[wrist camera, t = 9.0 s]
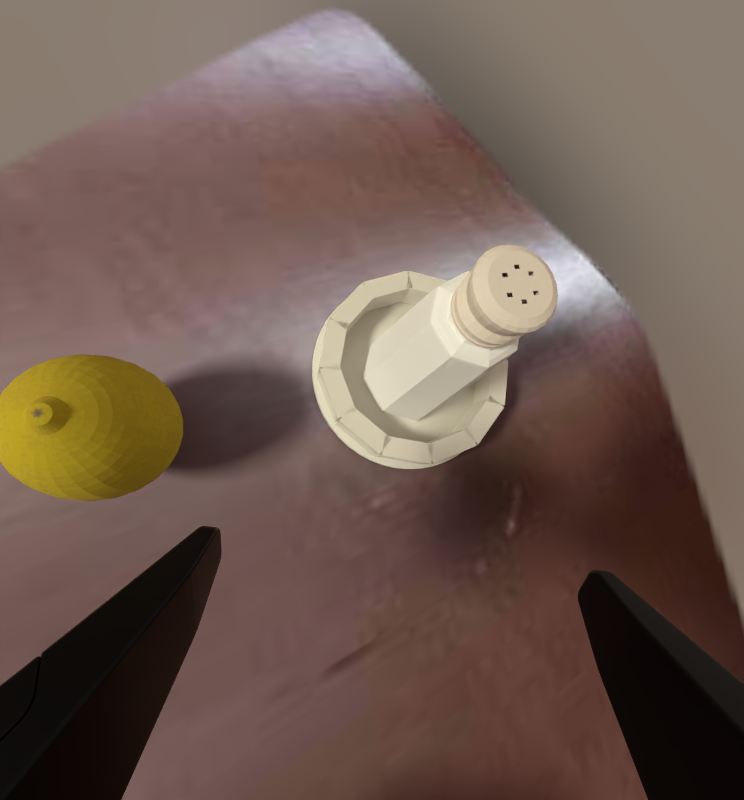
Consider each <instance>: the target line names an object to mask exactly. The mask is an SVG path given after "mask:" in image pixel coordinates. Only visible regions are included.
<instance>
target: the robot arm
mask: <svg viewBox="0 0 744 800" xmlns="http://www.w3.org/2000/svg"><path fill="white" fill-rule="evenodd" d="M220 559H221V534H220V530H219V528H217V527H209V526H201V527H199V528H198V529H197V530H195V531H194V532H193V533H192V534H190V535H189V536H188V537H187V538H185V539H184V540H183V541H182V542H180V543H179V544H178V545H177V546H175V547H174V548H173V549H172V550H170V551H169V552H168V553H167V554H165V555H164V556H163V557H162V558H160V559H159V560H158V561H156V562H155V563H154V564H153V565H151V566H150V567H149V568H148V569H146V570H145V571H144V572H143V573H141V574H140V575H139V576H138V577H136V578H135V579H134V580H133V581H131V582H130V583H129V584H128V585H126V586H125V587H124V588H123V589H121V590H120V591H119V592H118V593H116V594H115V595H114V596H113V597H111V598H110V599H109V600H108V601H106V602H105V603H104V604H103V605H101V606H100V607H99V608H98V609H96V610H95V611H94V612H93V613H91V614H90V615H89V616H88V617H86V618H85V619H84V620H83V621H81V622H80V623H79V624H78V625H76V626H75V627H74V628H73V629H71V630H70V631H69V632H68V633H66V634H65V635H64V636H63V637H61V638H60V639H59V640H57V641H56V642H55V643H54V644H52V645H51V646H50V647H49V648H47V649H46V650H45V651H44V652H43V653H42V654H41V657H39V656H38V657H36V658H35V659H33V660H32V661H31V662H30V663H28V664H27V665H26V666H25V667H23V668H22V669H21V670H20V671H18V672H17V673H16V674H15V675H13V676H12V677H11V678H9V679H8V680H7V681H6V682H4V683H3V684H2V685H0V800H121V799H122V797H123V794H124V792H125V790H126V788H127V786H128V783H129V781H130V779H131V777H132V774H133V772H134V770H135V768H136V766H137V763H138V761H139V759H140V757H141V754H142V752H143V750H144V748H145V746H146V743H147V741H148V739H149V737H150V734H151V732H152V730H153V728H154V725H155V723H156V721H157V719H158V717H159V714H160V712H161V710H162V708H163V705H164V703H165V701H166V699H167V697H168V694H169V692H170V690H171V688H172V685H173V683H174V681H175V679H176V677H177V674H178V672H179V670H180V668H181V665H182V663H183V661H184V659H185V656H186V654H187V652H188V650H189V648H190V645H191V643H192V641H193V638H194V636H195V634H196V631H197V629H198V626H199V623H200V620H201V617H202V614H203V611H204V608H205V605H206V602H207V599H208V596H209V593H210V590H211V587H212V584H213V581H214V578H215V575H216V572H217V569H218V566H219V563H220ZM578 601H579V605H580V609H581V612H582V616H583V619H584V623H585V626H586V630H587V633H588V637H589V640H590V644H591V647H592V651H593V654H594V657H595V661H596V664H597V667H598V670H599V673H600V676H601V678H602V681H603V684H604V686H605V689H606V692H607V694H608V697H609V699H610V702H611V704H612V707H613V710H614V712H615V715H616V717H617V720H618V723H619V725H620V728H621V730H622V733H623V736H624V738H625V741H626V743H627V746H628V749H629V751H630V754H631V756H632V759H633V762H634V764H635V767H636V769H637V772H638V775H639V777H640V780H641V782H642V785H643V788H644V790H645V793H646V795H647V798H648V800H744V684H743V683H742V682H741V681H740V680H738V679H737V678H736V677H735V676H734V675H733V674H731V673H730V672H729V671H728V670H727V669H725V668H724V667H723V666H722V665H721V664H719V663H718V662H717V661H716V660H715V659H713V658H712V657H711V656H710V655H709V654H707V653H706V652H705V651H704V650H703V649H702V648H700V647H699V646H698V645H697V644H696V643H694V642H693V641H692V640H691V639H690V638H688V637H687V636H686V635H685V634H684V633H682V632H681V631H680V630H679V629H678V628H676V627H675V626H674V625H673V624H672V623H671V622H669V621H668V620H667V619H666V618H665V617H663V616H662V615H661V614H660V613H659V612H657V611H656V610H655V609H654V608H653V607H651V606H650V605H649V604H648V603H647V602H646V601H644V600H643V599H642V598H641V597H640V596H638V595H637V594H636V593H635V592H634V591H632V590H631V589H630V588H629V587H628V586H626V585H625V584H624V583H623V582H622V581H620V580H619V579H618V578H617V577H616V576H615V575H613V574H612V573H610V572H606V571H598V570H593V571H591V572H590V573H589V575H588V576H587V578H586V580H585V581H584V583H583V585H582V586H581V588H580V590H579V592H578Z"/></svg>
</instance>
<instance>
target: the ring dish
mask: <svg viewBox="0 0 744 800" xmlns="http://www.w3.org/2000/svg"><path fill="white" fill-rule="evenodd" d="M445 282H447V281H446V280H442V279H438V278H434V277H430V276H427V275H423V274H419V273H415V272H411V271H409V272H408V273H407V271H404V272H400V273H396V274H392V275H389V276H385V277H381V278H377V279H373V280H369V281H365V282H363V284H362V283H361V284H360V285H359V286H358V287H357V288H356V289H355V290H354V291H353V293H352V294H351V295H350V296H349V297H348V298H347V299H346V300H345V301H344V302H343V303H341V304H340V305H339V306H338V307H337V308H336V309H335V310H334V312H333V313H332V314H331V315H330V316H329V318H328V319H327V321H326V323H325V324H324V326H323V328H322V330H321V332H320V334H319V337H318V339H317V343H316V346H315V350H314V354H313V362H312V382H313V389H314V394H315V397H316V401H317V404H318V406H319V409H320V411H321V413H322V415H323V417H324V419H325V421H326V422H327V424H328V426H329V427H330V428H331V430H332V431H333V432H334V433H335V435H336V436H337V437H338V438H339V439H340V440H341V441H342V442H343V443H344V444H345V445H346V446H347V447H349V448H350V449H351V450H353V451H354V452H355V453H357V454H358V455H360V456H362V457H364V458H366V459H367V460H369V461H372V462H374V463H377V464H380V465H383V466H387V467H392V468H400V469H421V468H426V467H432V466H435V465H438V464H441V463H444V462H446V461H448V460H450V459H452V458H454V457H456V456H457V455H459V454H460V453H462V452H463V451H465V450H467V449H470V448H472V447H475V446H477V445H476V444H479V443H480V441H481V440H482V438H483V437H484V436H485V434H486V433H487V431H488V430H489V428H490V427H491V425H492V424H493V423H494V421H495V420H496V418H497V417H498V415H499V414H500V413H501V411H502V410H503V408H504V407H503V406H504V405H505V397H506V385H507V373H508V360H504V361H503V362H502V363H500V364H499V365H497V366H496V367H495V368H493V369H492V370H491V371H489V372H488V373H486V374H485V375H484V376H482V377H481V378H480V379H478V380H477V381H475V382H474V383H473V384H471V385H470V386H469V387H467V388H466V389H464V390H463V391H462V392H460V393H459V394H457V395H456V396H455V397H453V398H452V399H451V400H449V401H448V402H446V403H445V404H443V405H442V406H440V407H439V408H437V409H435V410H434V411H432V412H431V413H429V414H427V415H426V416H424V417H423V418H421V419H419V420H418V421H415V420H411V419H407V418H404V417H400V416H396V415H392V414H389V413H385V412H382V411H381V410H380V408H379V406H378V405H377V403H376V401H375V400H374V398H373V396H372V395H371V393H370V391H369V390H368V388H367V386H366V385H365V383H364V381H363V380H362V378H363V374H364V370H365V366H366V362H367V358H368V354H369V349H370V345H371V344H372V343H373V342H374V341H376V340H377V339H378V338H379V337H380V336H381V335H382V334H383V333H385V332H386V331H387V330H388V329H389V328H390V327H391V326H392V325H394V324H395V323H396V322H397V321H398V320H399V319H400V318H401V317H403V316H404V315H405V314H406V313H407V312H408V311H409V310H410V309H412V308H413V307H414V306H415V305H416V304H417V303H418V302H419V301H421V300H422V299H423V298H424V297H425V296H426V295H427V294H429V293H430V292H431V291H433V290H434V289H435V288H437V287H438V286H440V285H441V284H443V283H445Z"/></svg>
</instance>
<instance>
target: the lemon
mask: <svg viewBox="0 0 744 800" xmlns="http://www.w3.org/2000/svg"><path fill="white" fill-rule="evenodd" d="M182 437H183V418H182V414H181V410H180V406H179V404H178V402H177V401H176V399H175V397H174V396H173V394H172V392H171V391H170V389H169V388H168V387H167V386H166V385H165V384H164V383H163V382H162V381H160V380H159V379H158V378H157V377H156V376H155V375H153V374H152V373H150V372H148V371H146V370H145V369H143V368H141V367H139V366H137V365H135V364H133V363H130V362H126V361H123V360H120V359H116V358H113V357H108V356H97V355H72V356H66V357H60V358H54V359H51V360H48V361H46V362H43V363H40V364H38V365H35V366H33V367H32V368H30V369H29V370H27V371H25V372H24V373H22V374H21V375H19V376H18V377H16V378H15V379H14V380H13V381H12V382H11V383H10V384H9V385H8V386H7V387H6V389H5V390H4V391H3V392H2V394H1V395H0V462H1V463H2V464H3V466H4V467H5V468H6V469H7V471H8V472H9V473H10V474H11V475H12V476H14V477H15V478H17V479H18V480H20V481H21V482H22V483H24V484H25V485H27V486H28V487H30V488H32V489H35V490H38V491H41V492H43V493H46V494H49V495H52V496H55V497H58V498H63V499H72V500H82V501H95V500H103V499H111V498H116V497H120V496H123V495H125V494H128V493H131V492H134V491H136V490H139V489H141V488H142V487H144V486H145V485H147V484H149V483H150V482H152V481H153V480H155V479H156V478H158V477H159V476H160V475H161V474H162V473H163V472H164V471H165V470H166V469H167V468H168V467H169V466H170V464H171V463H172V461H173V459H174V458H175V456H176V454H177V453H178V451H179V447H180V444H181V441H182Z"/></svg>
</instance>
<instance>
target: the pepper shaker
mask: <svg viewBox="0 0 744 800" xmlns="http://www.w3.org/2000/svg"><path fill="white" fill-rule="evenodd" d="M557 297H558V293H557V285H556V281H555V279H554V276H553V273H552V272H551V270H550V269H549V267H548V265H547V264H546V263H545V262H544V261H543V260H542V259H541V258H540V257H539V256H538V255H537V254H535V253H533V252H532V251H530V250H528V249H526V248H523V247H520V246H514V245H501V246H496V247H494V248H492V249H490V250H488V251H486V252H485V253H484V254H483V255H482V256H481V257H480V258H479V259H478V261H477V262H476V264H475V266H474V268H473V269H472V270H471V271H467V272H465V273H463V274H461V275H459V276H457V277H455V278H453V279H451V280H449V281H447V282H445V283H443V284H441V285H440V286H438V287H437V288H435V289H434V290H433V291H431V292H430V293H429V294H427V295H426V296H425V297H424V298H423V299H422V300H421V301H419V302H418V303H417V304H416V305H415V306H414V307H413V308H412V309H410V310H409V311H408V312H407V313H406V314H405V315H404V316H403V317H401V318H400V319H399V320H398V321H397V322H396V323H395V324H394V325H392V326H391V327H390V328H389V329H388V330H387V331H386V332H385V333H383V334H382V335H381V336H380V337H379V338H378V339H377V340H376V341H374V342H373V343H372V344H371V345H370V349H369V354H368V358H367V362H366V366H365V370H364V374H363V378H362V380H363V381H364V383H365V385H366V386H367V388H368V390H369V391H370V393H371V395H372V396H373V398H374V400H375V401H376V403H377V405H378V406H379V408H380V410H381V411H382V412H385V413H389V414H392V415H396V416H400V417H404V418H407V419H411V420H415V421H418V420H419V419H421V418H423V417H424V416H426V415H427V414H429V413H431V412H432V411H434V410H435V409H437V408H439V407H440V406H442V405H443V404H445V403H446V402H448V401H449V400H451V399H452V398H453V397H455V396H456V395H457V394H459V393H460V392H462V391H463V390H464V389H466V388H467V387H469V386H470V385H471V384H473V383H474V382H475V381H477V380H478V379H480V378H481V377H482V376H484V375H485V374H486V373H488V372H489V371H491V370H492V369H493V368H495V367H496V366H497V365H499V364H500V363H502V362H503V361H504V360H506V359H507V358H508V357H510V356H511V355H512V354H513V353H514V352H515V351H517V349H518V343H519V338H520V337H521V336H523V335H525V334H527V333H531V332H534V331H536V330H538V329H540V328H541V327H543V326H544V325H546V324H547V322H548V321H549V320H550V319H551V318H552V316H553V314H554V311H555V309H556V305H557Z"/></svg>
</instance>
